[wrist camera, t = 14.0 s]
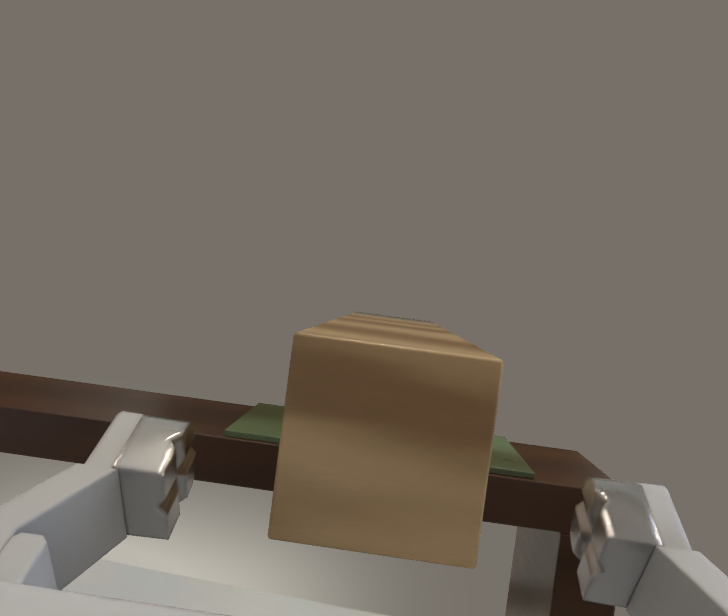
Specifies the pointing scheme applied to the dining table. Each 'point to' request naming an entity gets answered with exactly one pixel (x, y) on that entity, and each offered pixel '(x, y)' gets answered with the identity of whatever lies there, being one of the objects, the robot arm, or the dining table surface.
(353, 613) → the dining table surface
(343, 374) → the light wood square bar
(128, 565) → the dining table surface
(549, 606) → the dark brown wooden frame
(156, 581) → the dining table surface
